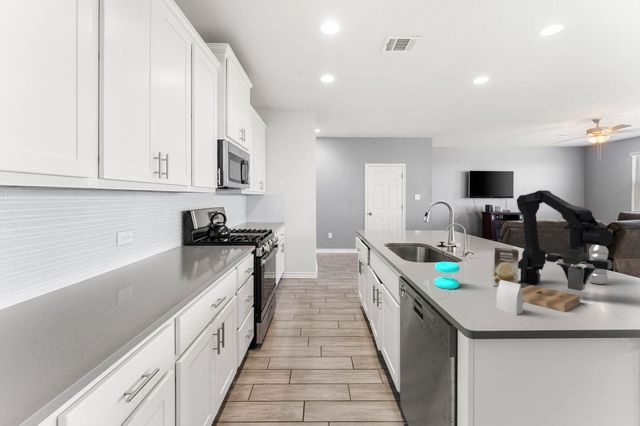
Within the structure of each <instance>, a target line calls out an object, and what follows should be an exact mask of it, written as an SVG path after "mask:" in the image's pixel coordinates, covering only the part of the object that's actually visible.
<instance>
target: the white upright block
mask: <svg viewBox="0 0 640 426" xmlns="http://www.w3.org/2000/svg"><path fill="white" fill-rule="evenodd" d="M521 289H522V284H521V283H512V282H508V281H504V280H500V283H499V286H498V287H497V290H496V306H495V307H496V310H498V309H499V310H498V311H501V310H502V311H501V312H504V311H505V313H508V314H512V315H514V314H515V315H514V316H518V315H521V314H523V313H524V312H523V311H524V306H523V305H524V302H523V294H522V290H521Z"/></svg>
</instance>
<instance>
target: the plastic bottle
mask: <svg viewBox="0 0 640 426" xmlns="http://www.w3.org/2000/svg"><path fill="white" fill-rule="evenodd" d="M588 257H589V260H596V259H605V260H608V257H609V249H608V248H607V247H605V246H598V245H592V244H591V246H590V247H589V248H588ZM607 271H608V270H604V269H596V270H594V271H593V272H592V274H591V275H590V277H589V279H588V281H589V283H592V284H595V285H606V284H607V283H608V280H609V278H608V277H609V276H608V272H607Z"/></svg>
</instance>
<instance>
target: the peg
mask: <svg viewBox="0 0 640 426" xmlns="http://www.w3.org/2000/svg"><path fill="white" fill-rule="evenodd" d="M583 278H584V267H582V265H573V264H572V265H571V267H569V268H568V280H567V289H569V290H575V291H579V292H582V291H583V290H585V288H586V287H585V286H586V284H585V285H583Z"/></svg>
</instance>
